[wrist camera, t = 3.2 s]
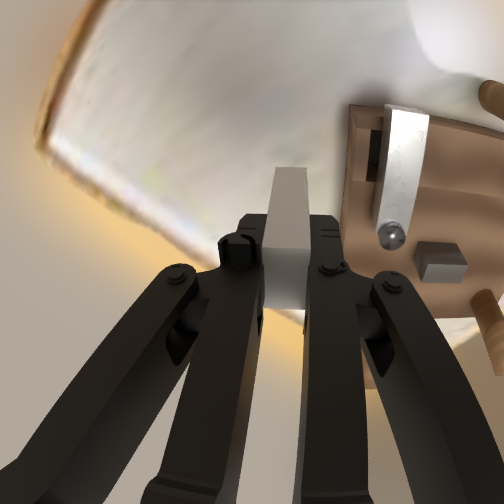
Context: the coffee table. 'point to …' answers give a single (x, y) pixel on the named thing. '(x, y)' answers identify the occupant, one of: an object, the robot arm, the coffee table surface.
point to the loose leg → (492, 97)
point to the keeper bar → (398, 173)
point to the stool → (436, 223)
